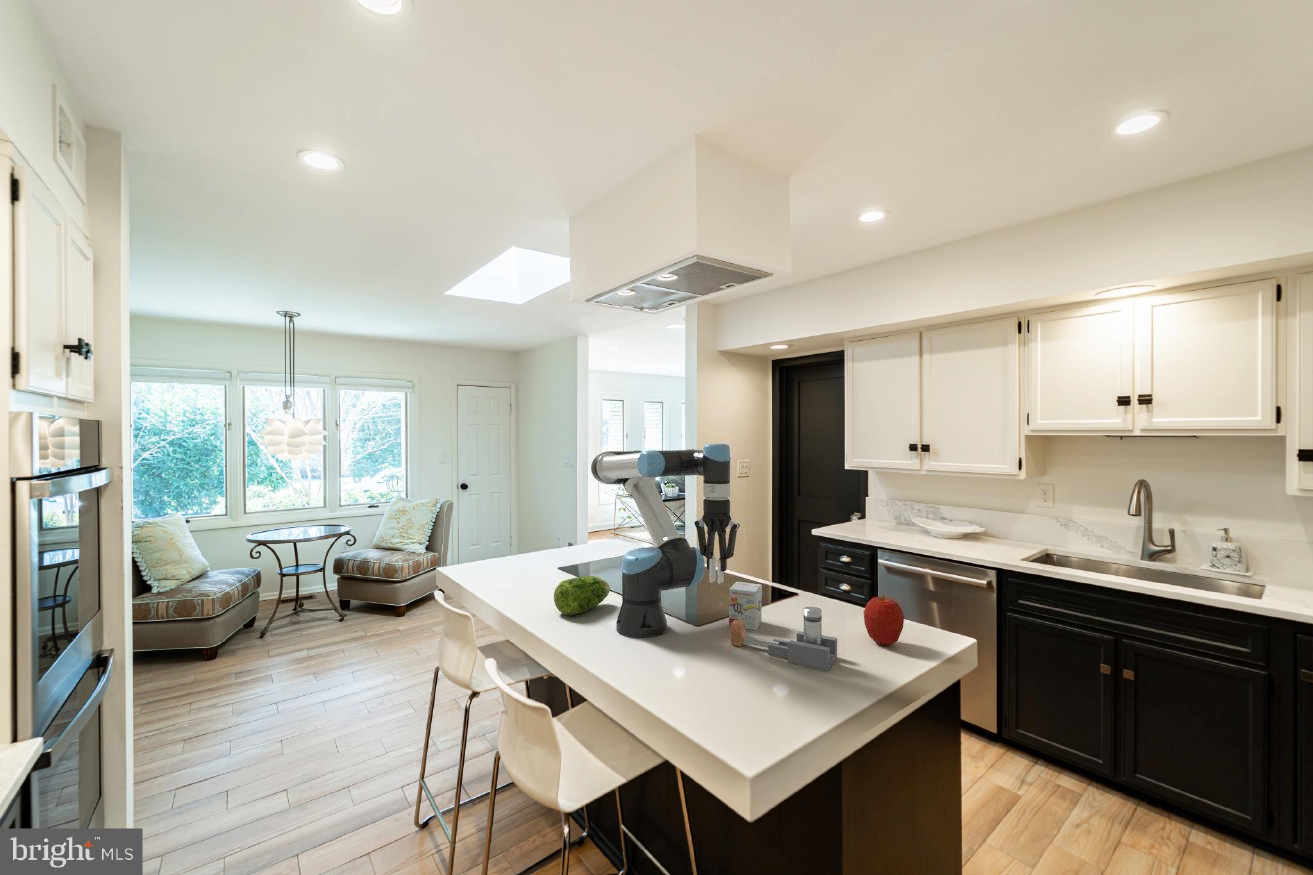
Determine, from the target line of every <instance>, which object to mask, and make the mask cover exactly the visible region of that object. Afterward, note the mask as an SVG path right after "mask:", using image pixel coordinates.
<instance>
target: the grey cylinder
mask: <svg viewBox="0 0 1313 875" xmlns="http://www.w3.org/2000/svg"><path fill="white" fill-rule="evenodd" d="M822 612H823V611H822V609H821V608H820V607H817V606H805V607H803V632H804V643H808V644H813V645H819V646H821V635H822V618H823V615H822Z"/></svg>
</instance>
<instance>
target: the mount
mask: <svg viewBox="0 0 1313 875" xmlns="http://www.w3.org/2000/svg"><path fill="white" fill-rule="evenodd" d="M772 641H777V642H780V645H776V644H771V643H770V644H768V648H767V651H768V652H767V655H768V656H773V657H778V658H781V659H782V658H783V659H787V663H788V664H793V665H797V666H798V665H799V666H802V667H805V668H806V667H808V668H812V669H817V670H821V671H826V672H828V671H829V670H830V669H831V667H832V666H833V664H834V663H835V661H836V660H837V658H838V637H834V636H830V635H823V634H821V646H819V645H813V644H808V643H804V631H801V630H800V631H797V633H796V640H785V639H777V638H773V640H772Z"/></svg>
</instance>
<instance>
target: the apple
mask: <svg viewBox="0 0 1313 875" xmlns="http://www.w3.org/2000/svg"><path fill="white" fill-rule="evenodd" d="M862 613H863V621H864V626H865V629H866V631H867V634H868V636H869V638H870V639H872V641H874V642H875V643H876V644H877V645H880V646H881V645H882V646H886V647H887V646H888V647H889V646H893V644H895V643H897V642H899V638H900V636H901V634H902V631H903V629H904V622H905V614H904V612H903V609H902V607H901V606H900V605H899V603H898V602H897V601H896V600H893V599H891V598H889V597H886V596H885V594H884V593H882V596H876V597H872V598H871V599H870V600H869V601H868V602H867V603H866V605H865V608H864V610H863V612H862Z"/></svg>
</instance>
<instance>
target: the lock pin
mask: <svg viewBox="0 0 1313 875" xmlns="http://www.w3.org/2000/svg"><path fill="white" fill-rule="evenodd" d="M770 643H771V644H776V645H780V642H777V641H773V640H771V639H765V638H760V637H755V636H751V635H750V636H749V635H746V629H745V621H740V620H734V621H733V622H731V627H730V645H732V646H737V647H743V646H744V645H745V644H746V645H749V646H750V645H751V646H755V647H760V648H765V649H768V644H770Z"/></svg>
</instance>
